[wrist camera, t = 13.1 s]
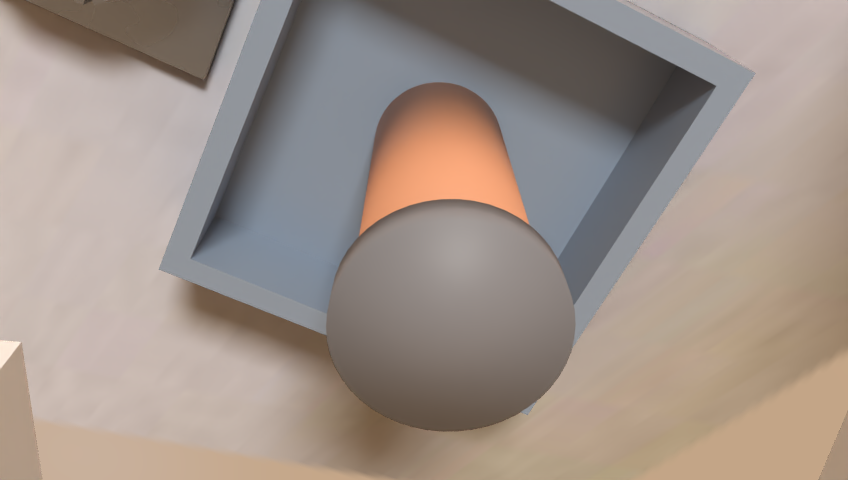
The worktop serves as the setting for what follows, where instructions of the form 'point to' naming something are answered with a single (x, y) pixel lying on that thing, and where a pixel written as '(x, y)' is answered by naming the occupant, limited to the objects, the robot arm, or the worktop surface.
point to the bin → (484, 75)
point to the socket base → (154, 26)
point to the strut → (447, 274)
